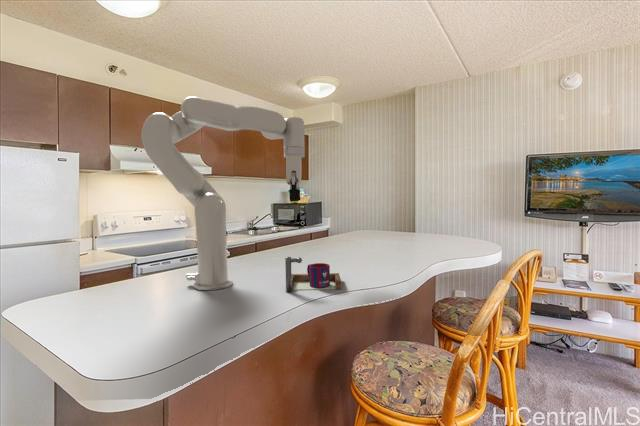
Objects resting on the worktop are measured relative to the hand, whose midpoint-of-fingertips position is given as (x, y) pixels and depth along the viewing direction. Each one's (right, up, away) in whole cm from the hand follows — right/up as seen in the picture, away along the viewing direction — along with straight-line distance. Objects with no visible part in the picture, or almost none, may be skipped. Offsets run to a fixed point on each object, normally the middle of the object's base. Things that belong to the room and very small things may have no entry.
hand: (295, 200), depth 117 cm
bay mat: (+7, -29, -9) cm, 31 cm away
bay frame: (+7, -29, -8) cm, 31 cm away
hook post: (+1, -29, -15) cm, 33 cm away
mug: (+8, -29, -8) cm, 31 cm away
